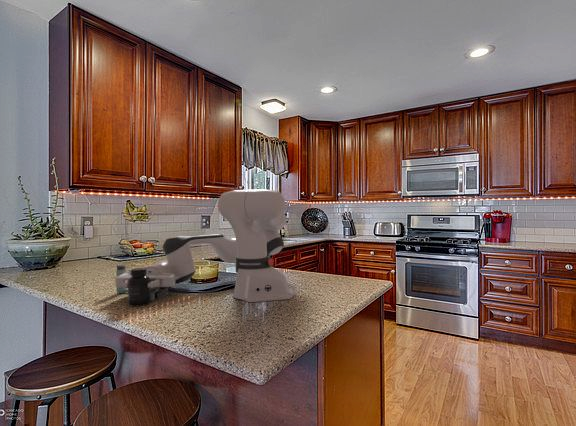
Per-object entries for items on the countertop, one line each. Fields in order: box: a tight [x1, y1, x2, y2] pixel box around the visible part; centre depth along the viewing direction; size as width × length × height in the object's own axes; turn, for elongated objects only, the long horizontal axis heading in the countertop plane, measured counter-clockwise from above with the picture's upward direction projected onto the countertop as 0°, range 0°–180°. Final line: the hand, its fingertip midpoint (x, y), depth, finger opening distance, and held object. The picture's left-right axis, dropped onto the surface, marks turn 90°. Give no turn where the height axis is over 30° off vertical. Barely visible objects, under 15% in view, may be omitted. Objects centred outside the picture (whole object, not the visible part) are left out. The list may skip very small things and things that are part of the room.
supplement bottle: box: [127, 267, 151, 307], centre depth 111 cm, size 7×7×12 cm
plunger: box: [115, 264, 159, 301], centre depth 120 cm, size 18×13×10 cm
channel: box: [156, 287, 169, 300], centre depth 120 cm, size 10×8×2 cm
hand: (137, 285), depth 109 cm, fingers closed on supplement bottle, 7 cm apart
